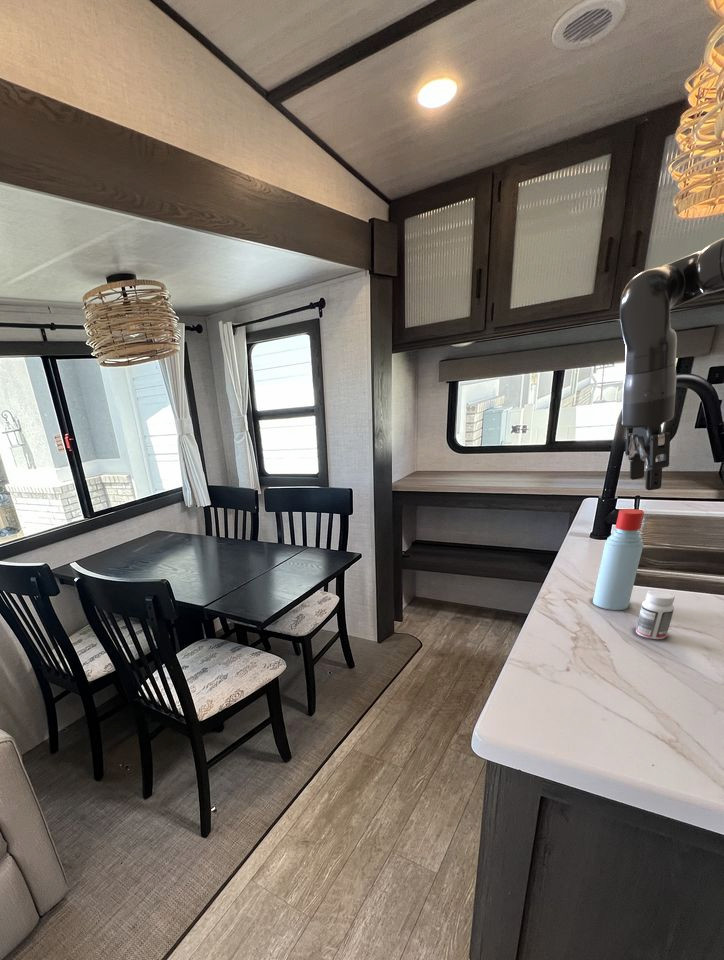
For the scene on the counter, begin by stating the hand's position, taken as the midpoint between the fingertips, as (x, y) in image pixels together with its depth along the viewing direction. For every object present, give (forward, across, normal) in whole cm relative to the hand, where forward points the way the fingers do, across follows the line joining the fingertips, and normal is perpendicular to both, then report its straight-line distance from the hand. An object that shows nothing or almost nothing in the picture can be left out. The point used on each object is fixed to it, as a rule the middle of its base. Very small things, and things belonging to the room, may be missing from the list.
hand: (644, 483), depth 90 cm
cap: (+9, +1, +2) cm, 9 cm away
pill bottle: (+26, -14, +2) cm, 29 cm away
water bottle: (+26, 0, +5) cm, 26 cm away
